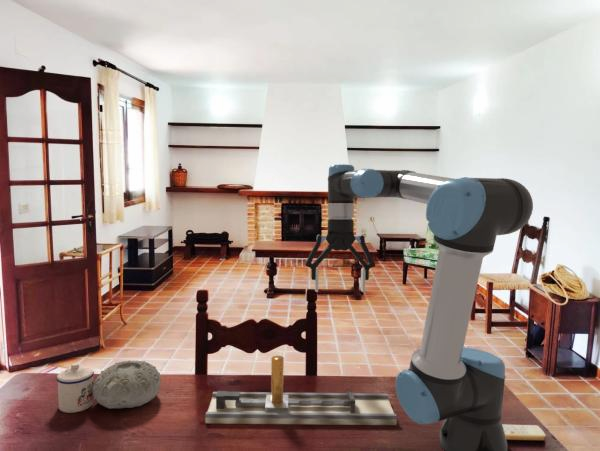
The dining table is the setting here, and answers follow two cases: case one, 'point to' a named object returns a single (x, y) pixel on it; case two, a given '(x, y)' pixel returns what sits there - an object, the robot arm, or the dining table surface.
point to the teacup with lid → (75, 388)
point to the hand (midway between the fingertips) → (339, 291)
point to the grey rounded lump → (127, 384)
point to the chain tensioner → (277, 399)
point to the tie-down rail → (303, 410)
